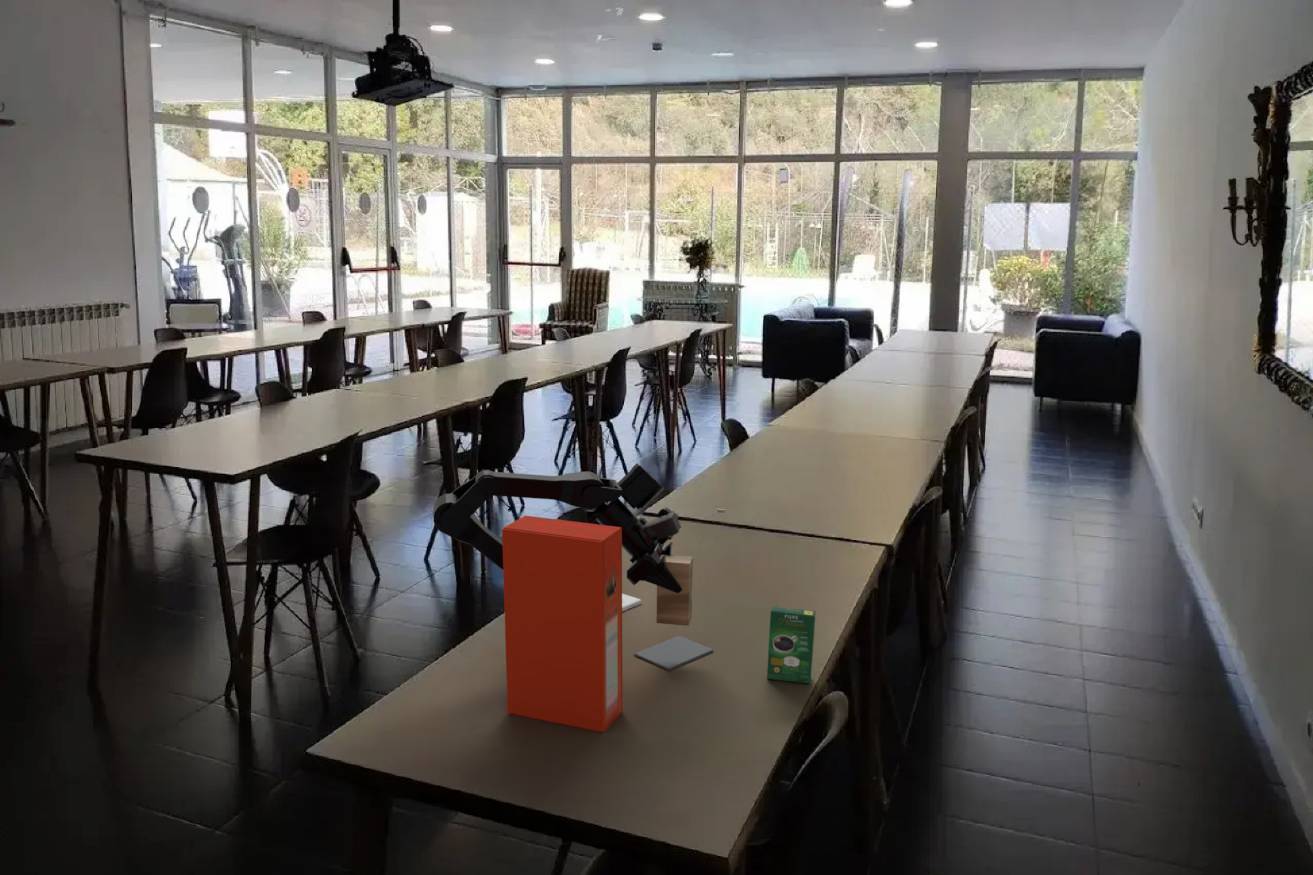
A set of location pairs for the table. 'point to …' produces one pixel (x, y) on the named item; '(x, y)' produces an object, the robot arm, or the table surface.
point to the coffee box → (791, 644)
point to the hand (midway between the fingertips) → (682, 587)
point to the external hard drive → (629, 602)
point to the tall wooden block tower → (675, 604)
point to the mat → (673, 652)
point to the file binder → (563, 621)
